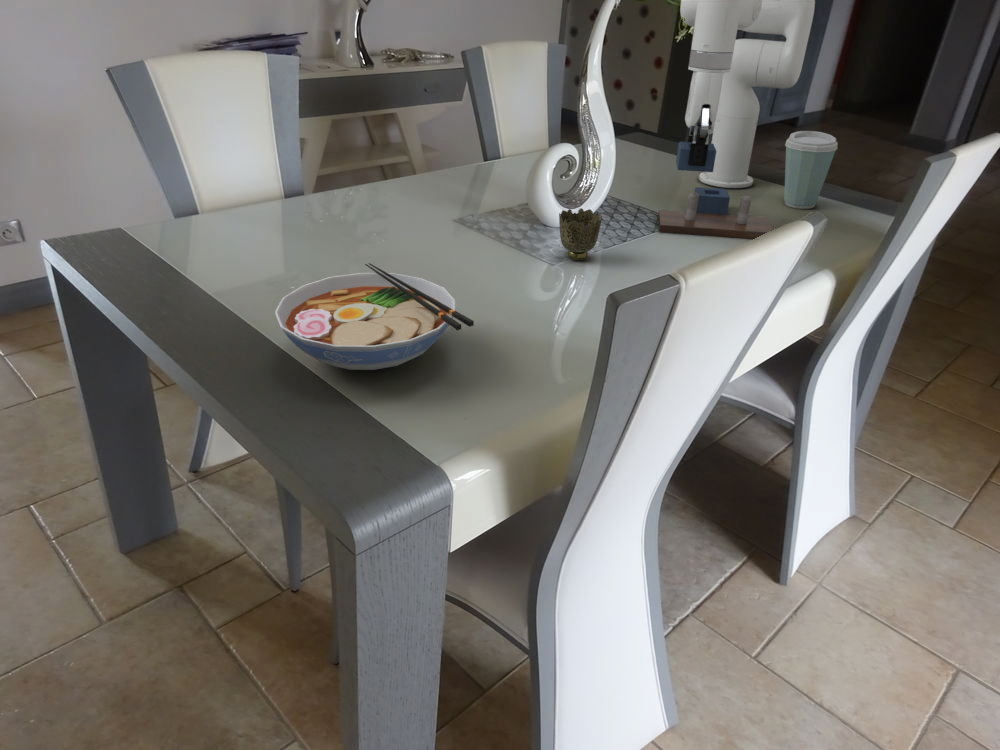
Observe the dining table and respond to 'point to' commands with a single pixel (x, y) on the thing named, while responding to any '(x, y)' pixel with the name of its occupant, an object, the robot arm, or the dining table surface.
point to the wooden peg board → (714, 221)
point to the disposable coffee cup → (807, 167)
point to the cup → (579, 232)
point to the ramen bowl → (367, 318)
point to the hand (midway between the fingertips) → (695, 160)
